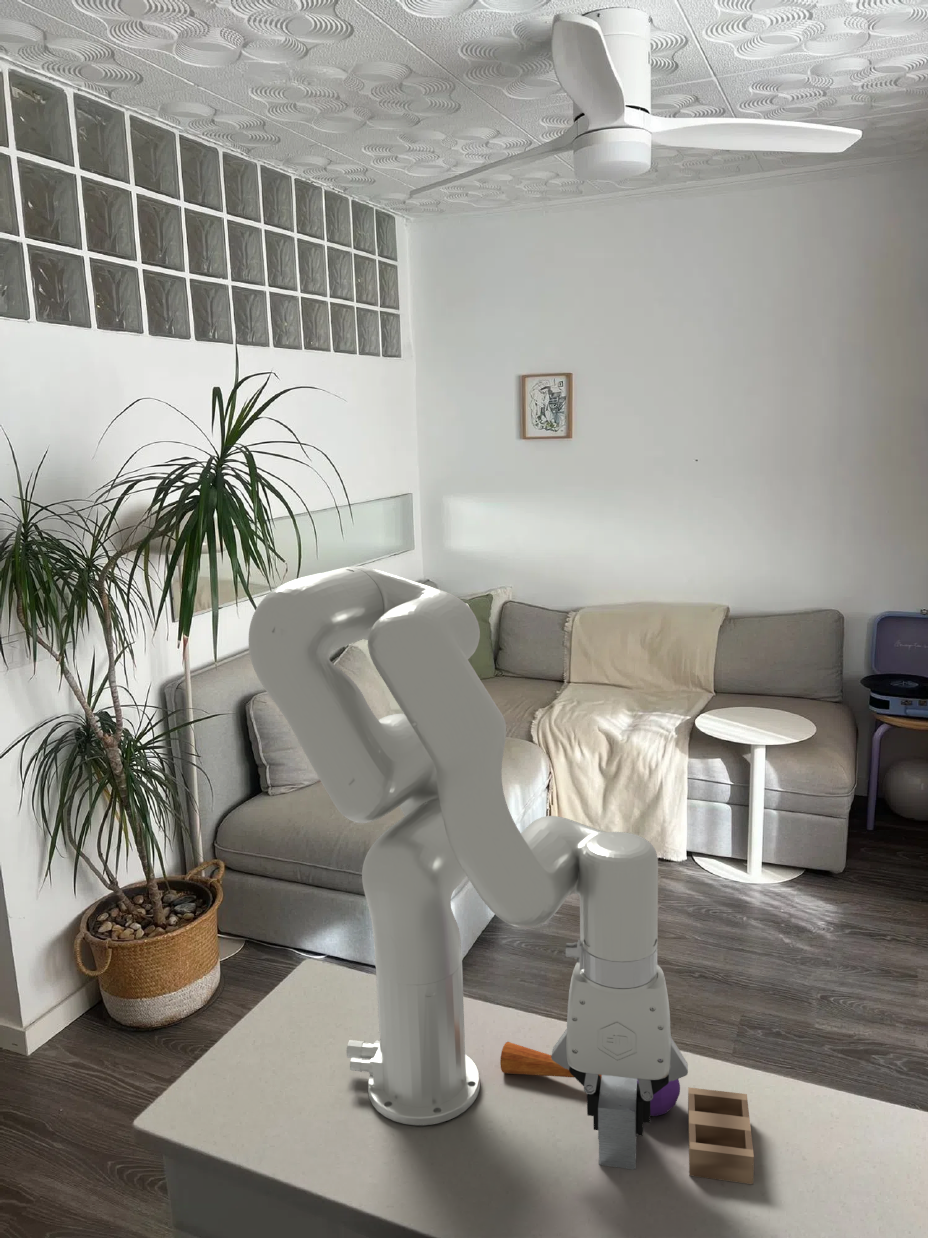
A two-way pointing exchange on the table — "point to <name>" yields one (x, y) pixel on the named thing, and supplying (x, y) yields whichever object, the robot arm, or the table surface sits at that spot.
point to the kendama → (542, 1064)
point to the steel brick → (617, 1122)
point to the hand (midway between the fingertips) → (618, 1122)
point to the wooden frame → (719, 1136)
